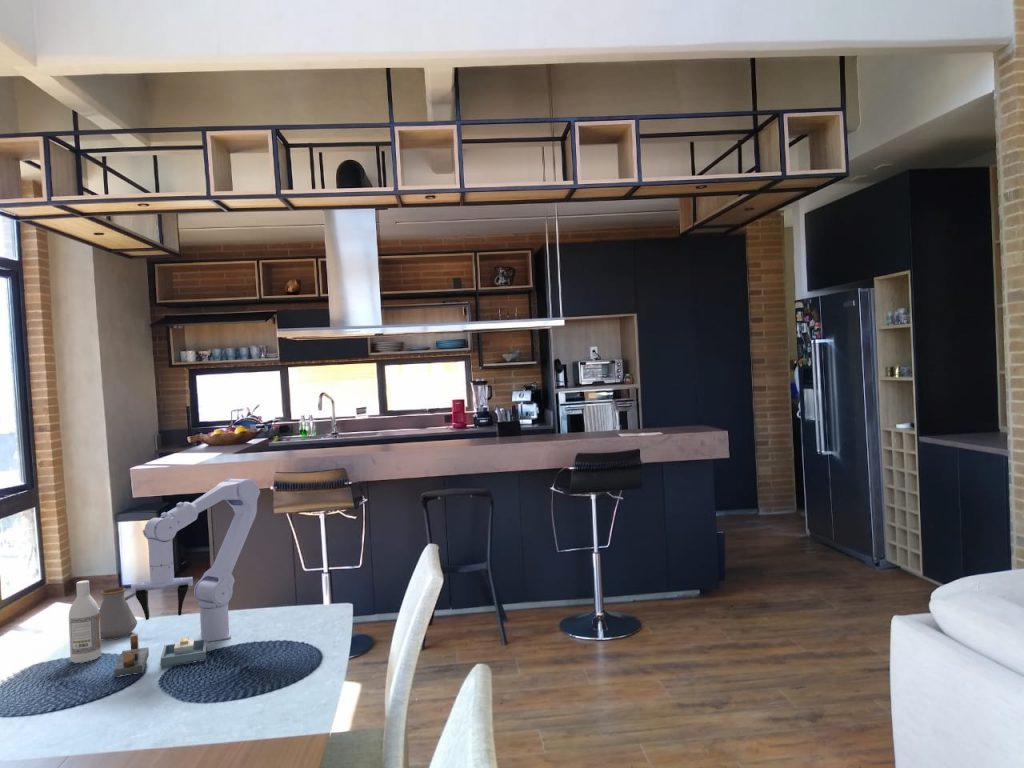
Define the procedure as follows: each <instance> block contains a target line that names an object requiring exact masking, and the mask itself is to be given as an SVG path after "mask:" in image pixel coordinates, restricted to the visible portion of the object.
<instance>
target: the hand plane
mask: <svg viewBox="0 0 1024 768" xmlns="http://www.w3.org/2000/svg"><path fill="white" fill-rule="evenodd" d="M129 639H130V649H128V650H127V649H126V650H122V652H121V654H120V656H119V658H118V660H117V662H116V665H115V667H114V669H113V670H114V671H113V672H114V677H115V676H120V675H126V674H133V673H144V671H145V668H146V665H147V663H148V662H147V661H148V659H149V656H150V654H149V646H148V647H142V648H139V647H140V646H139V633H133V634H130V635H129ZM145 664H146V665H145ZM144 667H145V668H144ZM143 670H144V671H143Z"/></svg>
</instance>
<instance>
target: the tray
mask: <svg viewBox="0 0 1024 768" xmlns="http://www.w3.org/2000/svg"><path fill="white" fill-rule="evenodd" d="M194 645H195V652H194V653H188V654H182V655H175V656H174V646H175V643H171V644H164V645H163V649H162V652H161V656H160V668H161V669H167V668H171V667H177V666H176V665H179V666H181V665H180V664H184V663H189V662H194V661H200V660H205V659H206V660H207V655H206V653H207V654H208V642H207V639H204V640H199V639H197V640H194Z"/></svg>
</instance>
